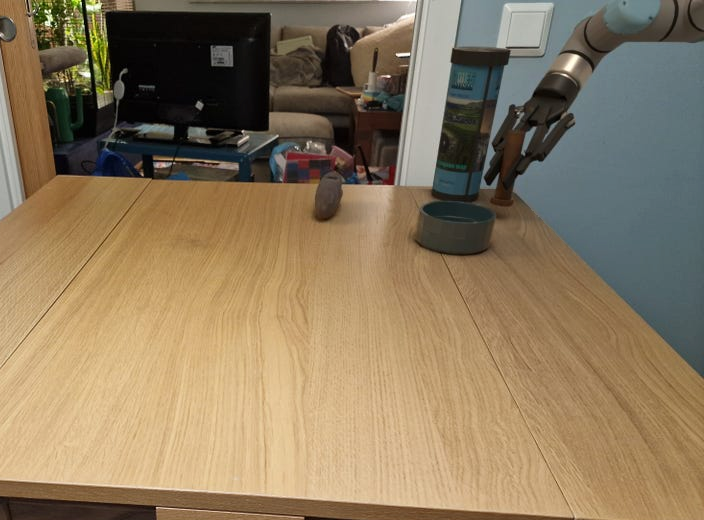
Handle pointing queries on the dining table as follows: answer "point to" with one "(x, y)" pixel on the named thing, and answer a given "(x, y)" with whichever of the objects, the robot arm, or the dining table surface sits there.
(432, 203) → the bowl
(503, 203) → the muddler
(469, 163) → the advertising column
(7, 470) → the dining table surface
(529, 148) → the robot arm
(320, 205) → the perforated stone tool
